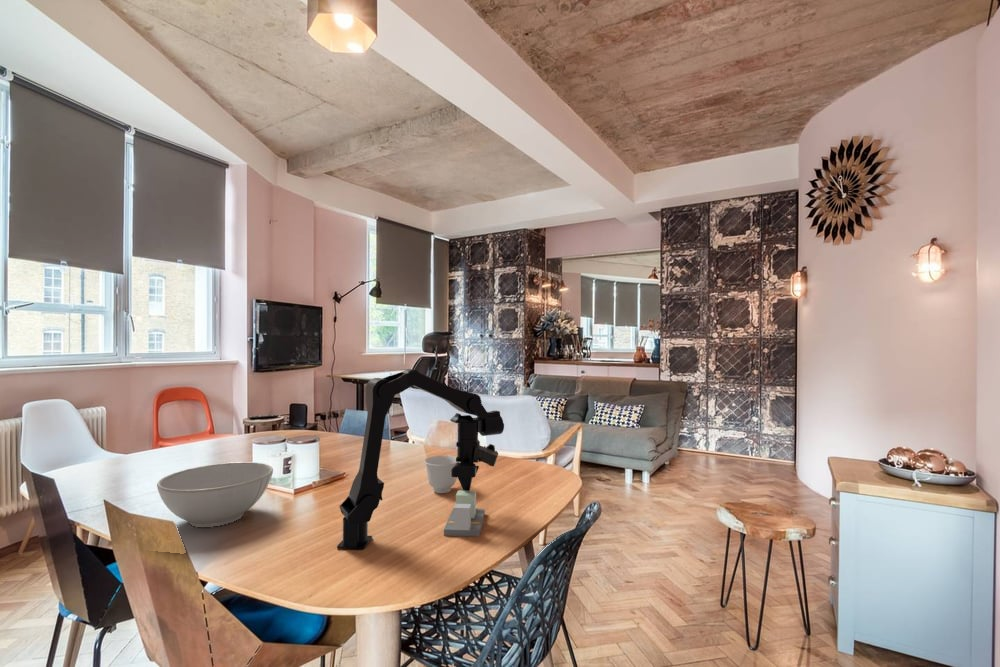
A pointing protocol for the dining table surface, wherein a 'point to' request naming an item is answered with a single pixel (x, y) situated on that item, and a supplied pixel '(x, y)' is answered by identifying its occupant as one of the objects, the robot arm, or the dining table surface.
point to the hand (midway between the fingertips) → (467, 494)
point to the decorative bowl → (214, 491)
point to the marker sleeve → (467, 500)
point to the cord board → (465, 533)
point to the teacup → (441, 472)
